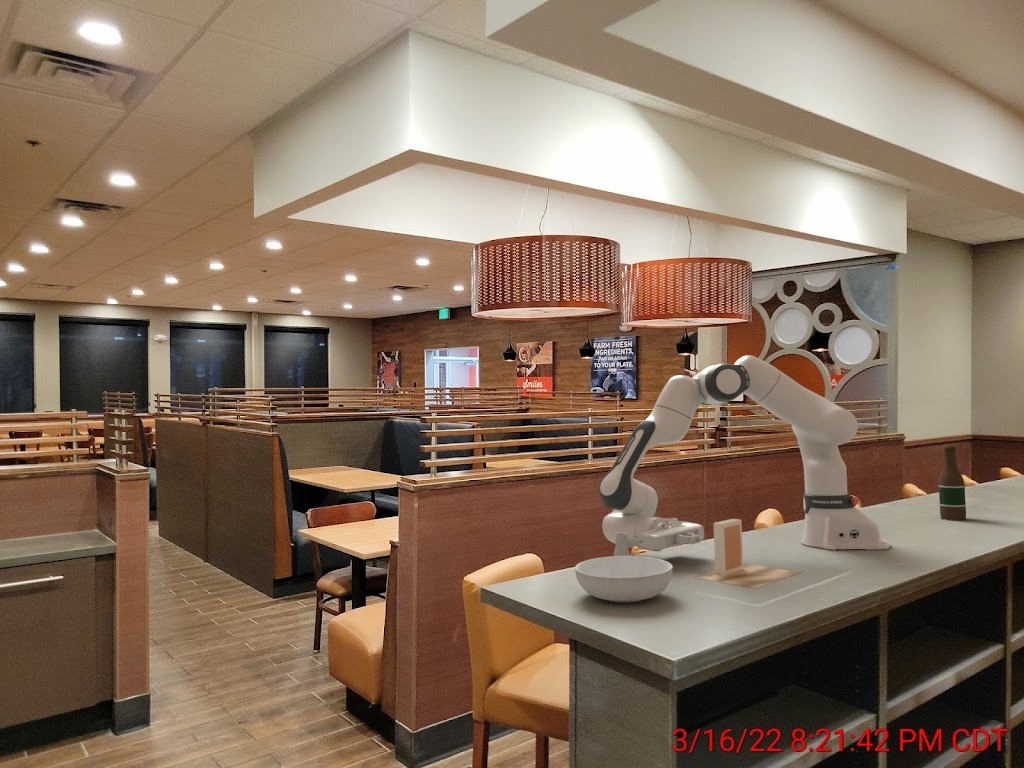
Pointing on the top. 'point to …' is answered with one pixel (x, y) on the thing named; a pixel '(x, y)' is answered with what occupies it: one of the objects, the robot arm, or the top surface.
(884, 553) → the top surface
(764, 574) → the wooden board
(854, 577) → the top surface
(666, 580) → the serving bowl
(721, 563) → the tile
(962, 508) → the beer bottle
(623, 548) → the flask
